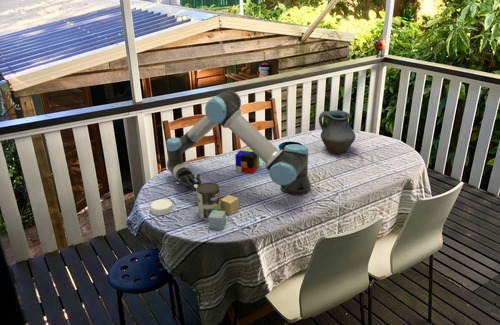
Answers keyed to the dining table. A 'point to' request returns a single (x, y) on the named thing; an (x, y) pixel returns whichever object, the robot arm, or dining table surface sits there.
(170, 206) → the cream disc
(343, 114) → the pitcher
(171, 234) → the dining table surface
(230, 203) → the ochre block
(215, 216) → the slate block
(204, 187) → the coffee can
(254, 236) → the dining table surface
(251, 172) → the puzzle toy
